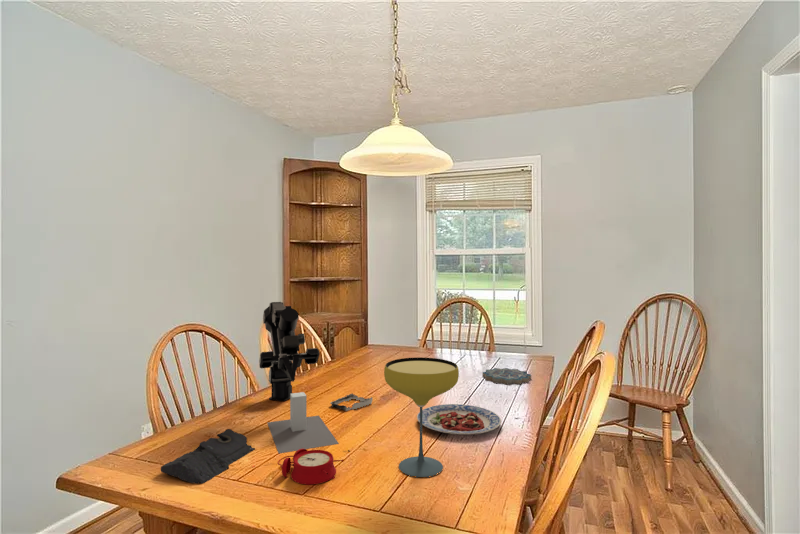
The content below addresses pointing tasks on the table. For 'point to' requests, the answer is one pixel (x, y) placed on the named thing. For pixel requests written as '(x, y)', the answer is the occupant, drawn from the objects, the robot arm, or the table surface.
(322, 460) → the alarm clock
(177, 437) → the table surface
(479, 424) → the ceramic plate
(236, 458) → the dark slate chunk
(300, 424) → the painted block
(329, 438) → the rubber mat
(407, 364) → the cocktail glass
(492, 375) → the decorative tile
